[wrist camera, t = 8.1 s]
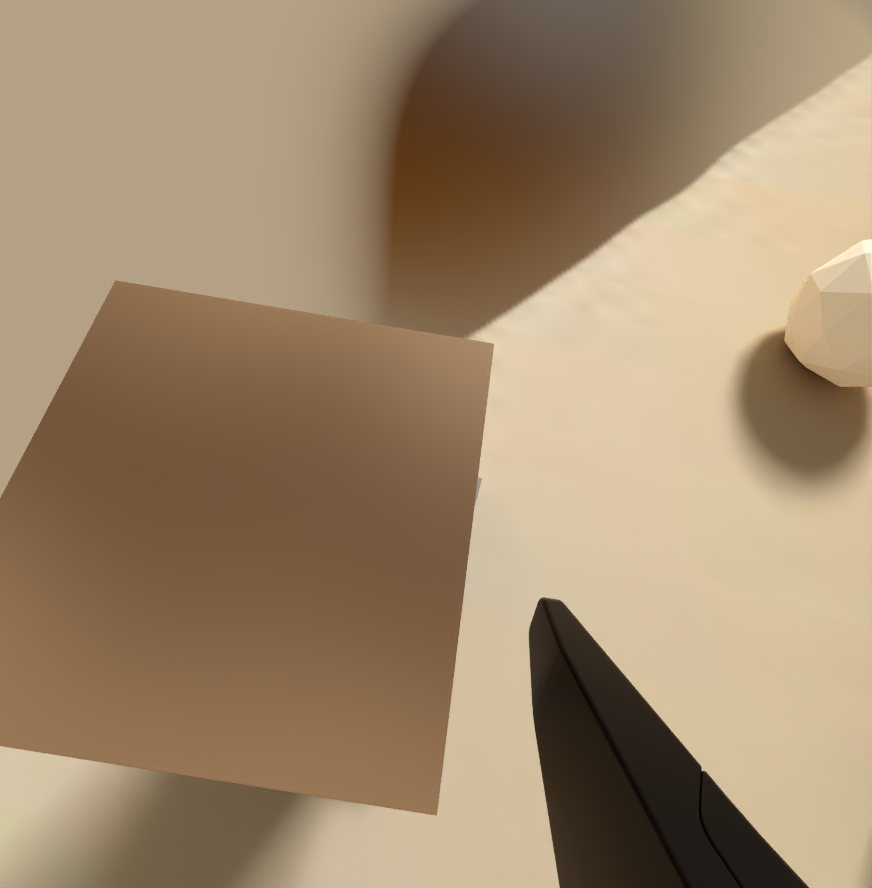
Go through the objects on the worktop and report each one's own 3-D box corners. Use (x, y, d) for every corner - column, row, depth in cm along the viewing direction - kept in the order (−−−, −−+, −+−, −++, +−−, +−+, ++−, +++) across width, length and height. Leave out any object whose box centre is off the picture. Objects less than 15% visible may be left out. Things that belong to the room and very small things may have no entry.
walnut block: (415, 646, 16) (437, 816, 4) (285, 624, 16) (-121, 726, 4) (434, 517, 18) (494, 343, 5) (318, 498, 18) (115, 281, 5)
